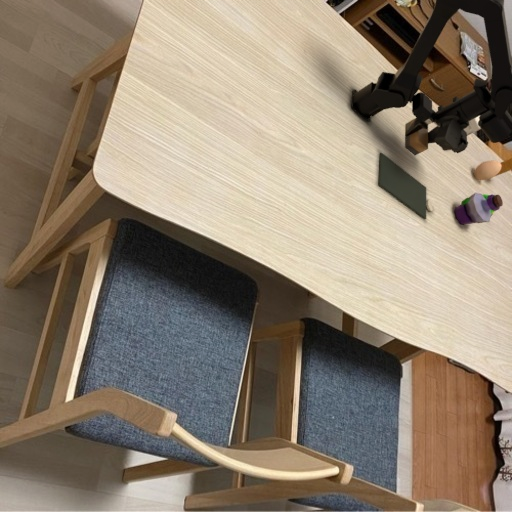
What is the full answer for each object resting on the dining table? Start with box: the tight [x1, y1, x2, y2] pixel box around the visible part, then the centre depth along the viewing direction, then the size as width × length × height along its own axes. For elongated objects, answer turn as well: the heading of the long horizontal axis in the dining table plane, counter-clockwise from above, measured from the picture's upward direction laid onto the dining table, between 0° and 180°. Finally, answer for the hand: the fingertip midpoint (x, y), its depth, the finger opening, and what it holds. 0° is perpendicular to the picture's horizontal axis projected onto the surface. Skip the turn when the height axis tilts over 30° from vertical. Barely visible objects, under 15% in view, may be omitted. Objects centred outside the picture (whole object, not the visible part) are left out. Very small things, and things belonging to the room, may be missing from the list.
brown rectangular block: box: [404, 117, 429, 156], centre depth 143 cm, size 4×8×4 cm, turn 169°
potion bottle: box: [453, 192, 504, 226], centre depth 154 cm, size 9×9×12 cm
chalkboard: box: [377, 152, 427, 220], centre depth 143 cm, size 18×10×1 cm, turn 79°
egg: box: [473, 160, 501, 181], centre depth 170 cm, size 5×5×8 cm
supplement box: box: [493, 157, 512, 178], centre depth 174 cm, size 3×3×10 cm
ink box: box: [463, 116, 482, 137], centre depth 164 cm, size 8×5×12 cm, turn 123°
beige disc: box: [426, 199, 434, 212], centre depth 148 cm, size 3×3×1 cm
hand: (411, 138), depth 144 cm, fingers closed on brown rectangular block, 4 cm apart
